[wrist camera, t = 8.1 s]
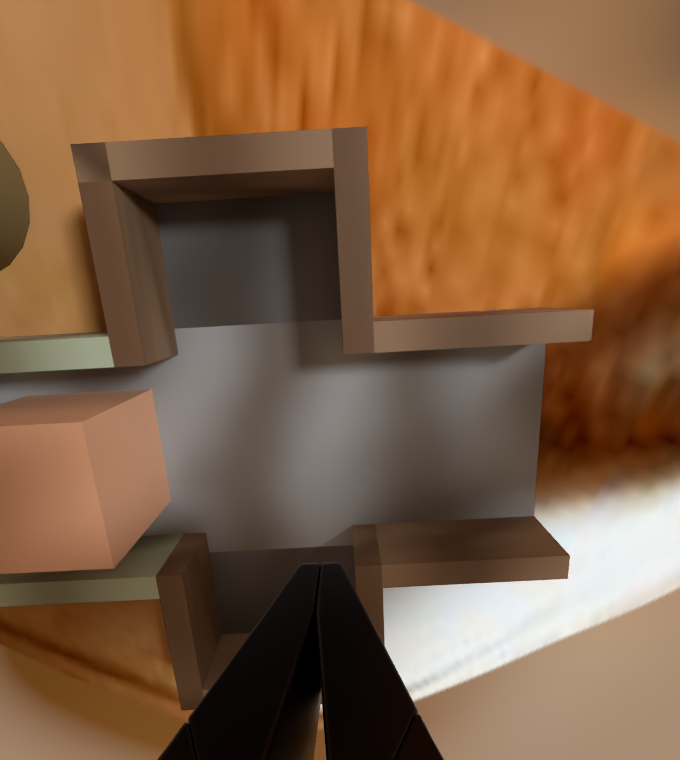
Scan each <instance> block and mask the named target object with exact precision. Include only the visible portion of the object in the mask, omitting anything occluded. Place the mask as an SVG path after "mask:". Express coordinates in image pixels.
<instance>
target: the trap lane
mask: <svg viewBox="0 0 680 760" xmlns="http://www.w3.org/2000/svg"><path fill="white" fill-rule="evenodd" d="M71 149H72V155H73V160H74V165H75V170H76V175H77V180H78V185H79V190H80V195H81V200H82V205H83V211H84V216H85V221H86V226H87V231H88V236H89V241H90V246H91V251H92V256H93V261H94V267H95V272H96V277H97V282H98V287H99V292H100V297H101V302H102V307H103V312H104V317H105V323H106V328H107V332H94V333H76V334H58V335H40V336H23V337H5V338H0V404H2V403H5V402H9V401H12V400H15V399H19V398H22V397H25V396H28V395H47V394H66V393H85V392H105V391H124V390H144V389H152V394H153V400H154V406H155V411H156V417H157V423H158V429H159V435H160V440H161V446H162V452H163V458H164V464H165V469H166V475H167V481H168V487H169V493H170V498H171V501H170V502H169V504H168V505H167V506H166V507H165V508H164V510H163V511H162V512H161V513H160V514H159V516H158V517H157V518H156V519H155V520H154V522H153V523H152V524H151V525H150V526H149V528H148V529H147V530H146V531H145V532H144V533H143V535H142V536H141V537H140V538H139V539H138V541H137V542H136V543H135V544H134V545H133V547H132V548H131V549H130V550H129V551H128V553H127V554H126V555H125V556H124V557H123V559H122V560H121V561H120V562H119V563H118V565H117V566H116V567H115V568H114V569H94V570H73V571H52V572H31V573H10V574H0V607H9V606H29V605H49V604H69V603H89V602H109V601H129V600H149V599H160V603H161V608H162V613H163V618H164V623H165V628H166V633H167V638H168V643H169V648H170V653H171V659H172V664H173V669H174V674H175V679H176V684H177V689H178V694H179V699H180V704H181V709H182V710H195V708H196V707H197V706H198V704H199V703H200V702H201V700H202V699H203V697H204V696H205V695H206V693H207V692H208V691H209V689H210V688H211V686H212V685H213V684H214V682H215V681H216V680H217V678H218V677H219V676H220V674H221V673H222V671H223V670H224V669H225V667H226V666H227V665H228V663H229V662H230V660H231V659H232V658H233V656H234V655H235V654H236V652H237V651H238V649H239V648H240V647H241V645H242V644H243V643H244V641H245V640H246V638H247V637H248V636H249V634H250V633H251V632H252V630H253V629H254V627H255V626H256V625H257V623H258V622H259V621H260V619H261V618H262V617H263V615H264V614H265V612H266V611H267V610H268V608H269V607H270V606H271V604H272V603H273V601H274V600H275V599H276V597H277V596H278V595H279V593H280V592H281V590H282V589H283V588H284V586H285V585H286V584H287V582H288V581H289V579H290V578H291V577H292V575H293V574H294V573H295V571H296V570H297V568H298V567H299V566H300V565H301V564H303V563H319V564H320V565H322V563H324V562H340V563H341V564H342V566H343V568H344V570H345V572H346V574H347V575H348V577H349V579H350V581H351V583H352V585H353V587H354V589H355V591H356V593H357V595H358V597H359V599H360V600H361V602H362V604H363V606H364V608H365V610H366V612H367V614H368V616H369V618H370V620H371V622H372V624H373V625H374V627H375V629H376V631H377V633H378V635H379V637H380V639H381V641H382V643H383V645H384V617H383V588H390V587H410V586H430V585H450V584H470V583H490V582H510V581H530V580H550V579H568V569H569V559H570V555H569V554H568V553H567V552H566V551H565V550H564V549H563V548H562V547H561V545H560V544H559V543H558V542H557V541H556V540H555V539H554V538H553V537H552V535H551V534H550V533H549V532H548V531H547V530H546V529H545V528H544V527H543V526H542V524H541V523H540V522H539V521H538V520H537V519H536V518H535V517H534V506H535V492H536V478H537V464H538V450H539V436H540V422H541V408H542V394H543V380H544V366H545V352H546V343H563V342H581V341H591V337H592V327H593V317H594V309H567V308H524V309H506V310H488V311H470V312H452V313H434V314H416V315H398V316H381V317H373V294H372V264H371V235H370V206H369V176H368V147H367V127H352V128H335V129H319V130H302V131H286V132H269V133H252V134H236V135H219V136H202V137H186V138H169V139H152V140H136V141H119V142H103V143H86V144H71ZM320 704H322V693H321V700H320Z"/></svg>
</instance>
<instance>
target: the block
mask: <svg viewBox="0 0 680 760" xmlns="http://www.w3.org/2000/svg"><path fill="white" fill-rule="evenodd" d="M170 501H171V498H170V493H169V487H168V481H167V475H166V469H165V464H164V458H163V452H162V446H161V440H160V435H159V429H158V423H157V417H156V411H155V406H154V400H153V394H152V389H144V390H124V391H105V392H85V393H66V394H47V395H28V396H25V397H22V398H19V399H15V400H12V401H9V402H5V403H2V404H0V574H10V573H31V572H52V571H73V570H94V569H114V568H115V567H116V566H117V565H118V563H119V562H120V561H121V560H122V559H123V557H124V556H125V555H126V554H127V553H128V551H129V550H130V549H131V548H132V547H133V545H134V544H135V543H136V542H137V541H138V539H139V538H140V537H141V536H142V535H143V533H144V532H145V531H146V530H147V529H148V528H149V526H150V525H151V524H152V523H153V522H154V520H155V519H156V518H157V517H158V516H159V514H160V513H161V512H162V511H163V510H164V508H165V507H166V506H167V505H168V504H169V502H170Z"/></svg>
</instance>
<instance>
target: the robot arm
mask: <svg viewBox="0 0 680 760" xmlns="http://www.w3.org/2000/svg"><path fill="white" fill-rule="evenodd" d="M321 693H322V706H323V720H324V733H325V746H326V757H327V758H326V759H327V760H444V758H443V756H442V755H441V753H440V751H439V749H438V748H437V746H436V744H435V742H434V740H433V738H432V736H431V735H430V733H429V731H428V729H427V727H426V725H425V723H424V721H423V719H422V717H421V716H420V715H418V711H417V708H416V706H415V704H414V702H413V700H412V698H411V697H410V695H409V693H408V691H407V689H406V687H405V685H404V683H403V681H402V679H401V677H400V675H399V674H398V672H397V670H396V668H395V666H394V664H393V662H392V660H391V658H390V656H389V654H388V652H387V650H386V649H385V647H384V645H383V643H382V641H381V639H380V637H379V635H378V633H377V631H376V629H375V627H374V625H373V624H372V622H371V620H370V618H369V616H368V614H367V612H366V610H365V608H364V606H363V604H362V602H361V600H360V599H359V597H358V595H357V593H356V591H355V589H354V587H353V585H352V583H351V581H350V579H349V577H348V575H347V574H346V572H345V570H344V568H343V566H342V564H341V563H340V562H324V563H322V565H320V564H319V563H303V564H301V565H300V566H299V567H298V568H297V570H296V571H295V573H294V574H293V575H292V577H291V578H290V579H289V581H288V582H287V584H286V585H285V586H284V588H283V589H282V590H281V592H280V593H279V595H278V596H277V597H276V599H275V600H274V601H273V603H272V604H271V606H270V607H269V608H268V610H267V611H266V612H265V614H264V615H263V617H262V618H261V619H260V621H259V622H258V623H257V625H256V626H255V627H254V629H253V630H252V632H251V633H250V634H249V636H248V637H247V638H246V640H245V641H244V643H243V644H242V645H241V647H240V648H239V649H238V651H237V652H236V654H235V655H234V656H233V658H232V659H231V660H230V662H229V663H228V665H227V666H226V667H225V669H224V670H223V671H222V673H221V674H220V676H219V677H218V678H217V680H216V681H215V682H214V684H213V685H212V686H211V688H210V689H209V691H208V692H207V693H206V695H205V696H204V697H203V699H202V700H201V702H200V703H199V704H198V706H197V707H196V708H195V710H194V711H193V713H192V714H191V715H190V717H189V719H188V723H189V724H188V723H185V724H183V726H182V727H181V729H180V730H179V731H178V733H177V734H176V736H175V737H174V738H173V740H172V741H171V742H170V744H169V745H168V747H167V748H166V749H165V751H164V752H163V753H162V754H161V756H160V757H159V758H158V760H313V759H314V751H315V743H316V735H317V726H318V718H319V710H320V700H321Z"/></svg>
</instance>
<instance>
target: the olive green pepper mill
mask: <svg viewBox="0 0 680 760" xmlns="http://www.w3.org/2000/svg"><path fill="white" fill-rule="evenodd" d="M29 223H30V222H29V198H28V193H27V190H26V187H25V184H24V181H23V178H22V175H21V172H20V169H19V168H18V166H17V165H16V163H15V161H14V160H13V158H12V157H11V155H10V154H9V152H8V151H7V149H6V148H5V146H4V145H3V143H2V142H1V141H0V270H2V269H3V268H5V267H6V266H8V265H9V264H10V263H11V262H12V260H13V259H14V258H15V256H16V255H17V254H18V252H19V251H20V250H21V248H22V247H23V244H24V241H25V237H26V234H27V230H28V227H29Z"/></svg>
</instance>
